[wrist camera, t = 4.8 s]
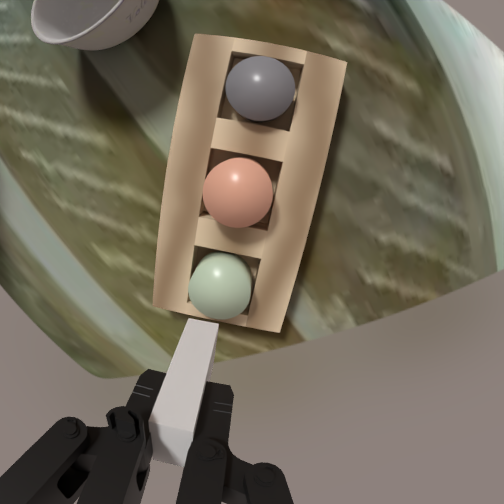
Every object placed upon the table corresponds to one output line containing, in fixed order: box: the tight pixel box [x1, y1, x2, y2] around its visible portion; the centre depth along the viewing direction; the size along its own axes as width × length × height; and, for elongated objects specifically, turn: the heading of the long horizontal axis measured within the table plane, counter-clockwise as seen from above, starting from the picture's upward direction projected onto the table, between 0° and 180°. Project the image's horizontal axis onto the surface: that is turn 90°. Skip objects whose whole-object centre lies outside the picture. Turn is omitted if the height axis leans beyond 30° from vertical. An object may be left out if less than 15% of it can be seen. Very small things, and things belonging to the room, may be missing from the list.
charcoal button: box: [226, 56, 295, 122], centre depth 21 cm, size 5×5×3 cm
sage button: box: [188, 250, 252, 319], centre depth 26 cm, size 5×5×3 cm
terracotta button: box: [203, 157, 273, 228], centre depth 23 cm, size 5×5×3 cm
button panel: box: [153, 34, 347, 333], centre depth 25 cm, size 12×24×3 cm, turn 168°
